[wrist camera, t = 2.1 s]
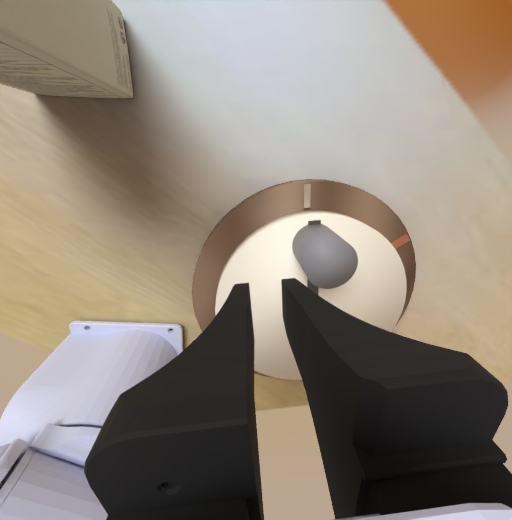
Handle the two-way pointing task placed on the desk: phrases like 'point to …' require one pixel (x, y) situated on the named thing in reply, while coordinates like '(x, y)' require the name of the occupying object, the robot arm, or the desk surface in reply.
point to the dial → (313, 277)
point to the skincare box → (64, 48)
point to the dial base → (284, 203)
